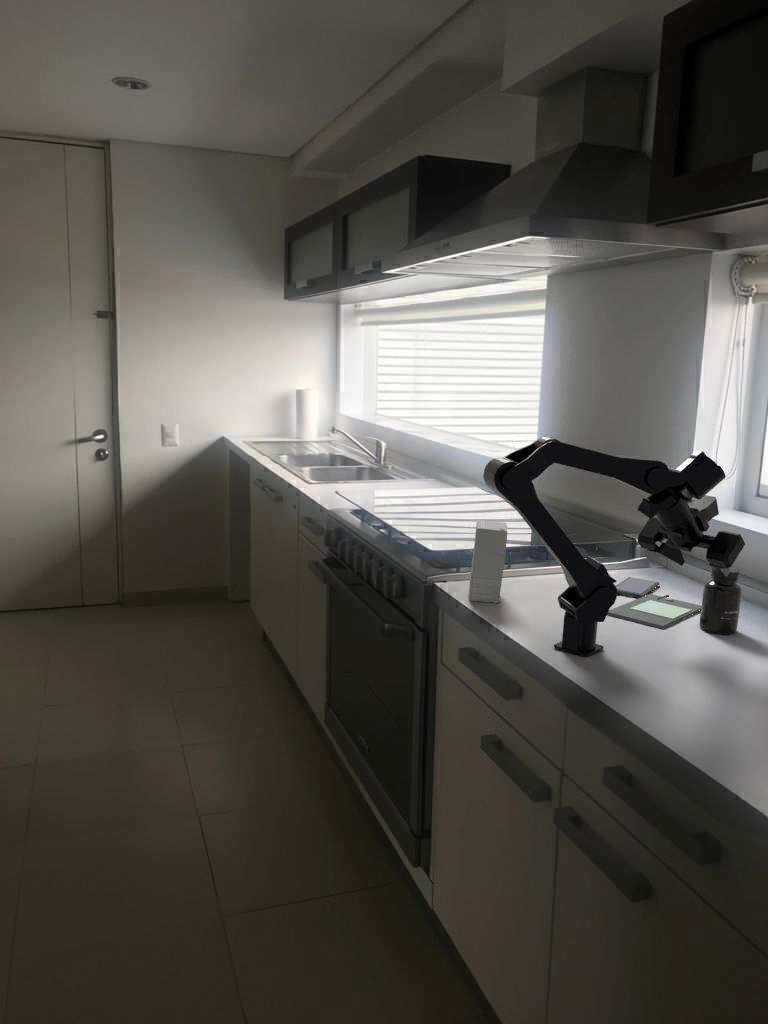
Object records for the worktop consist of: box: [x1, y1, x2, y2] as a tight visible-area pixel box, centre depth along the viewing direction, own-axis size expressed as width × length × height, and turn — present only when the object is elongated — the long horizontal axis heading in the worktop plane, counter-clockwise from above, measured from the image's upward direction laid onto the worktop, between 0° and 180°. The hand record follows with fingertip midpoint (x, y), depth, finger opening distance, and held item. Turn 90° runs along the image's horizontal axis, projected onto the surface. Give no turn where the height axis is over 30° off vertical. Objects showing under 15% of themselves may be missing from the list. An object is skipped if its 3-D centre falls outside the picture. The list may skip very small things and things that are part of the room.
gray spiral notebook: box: [607, 593, 702, 630], centre depth 175 cm, size 20×12×1 cm, turn 138°
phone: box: [615, 576, 660, 599], centre depth 192 cm, size 14×7×1 cm, turn 148°
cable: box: [617, 592, 670, 600], centre depth 186 cm, size 7×9×1 cm
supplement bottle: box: [698, 567, 743, 636], centre depth 164 cm, size 7×7×12 cm
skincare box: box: [468, 519, 508, 604], centre depth 179 cm, size 8×7×16 cm
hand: (704, 569), depth 158 cm, fingers open, 9 cm apart
